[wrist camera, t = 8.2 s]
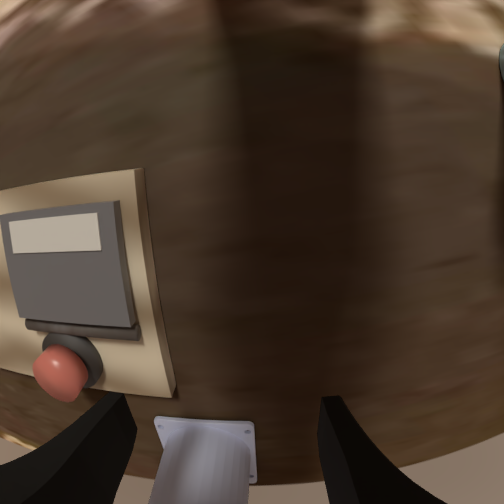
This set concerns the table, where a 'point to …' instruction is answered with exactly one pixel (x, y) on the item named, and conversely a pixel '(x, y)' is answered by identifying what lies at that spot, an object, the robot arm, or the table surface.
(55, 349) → the push button
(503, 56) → the cup
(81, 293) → the paddle switch
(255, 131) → the table surface
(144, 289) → the control panel
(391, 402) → the table surface
